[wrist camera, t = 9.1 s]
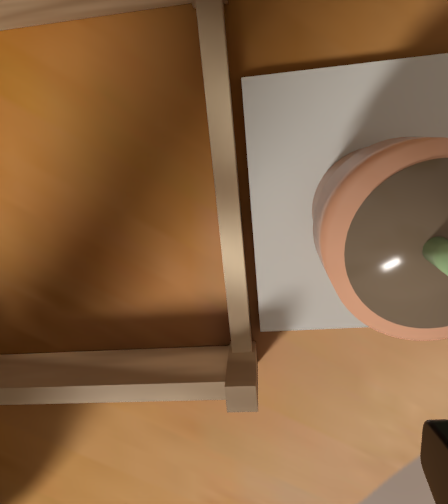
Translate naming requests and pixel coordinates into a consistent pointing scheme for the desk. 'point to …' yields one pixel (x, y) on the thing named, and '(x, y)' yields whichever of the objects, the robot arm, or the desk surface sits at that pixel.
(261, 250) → the stone tile
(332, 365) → the desk surface
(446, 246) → the seedling pot
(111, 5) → the frame
